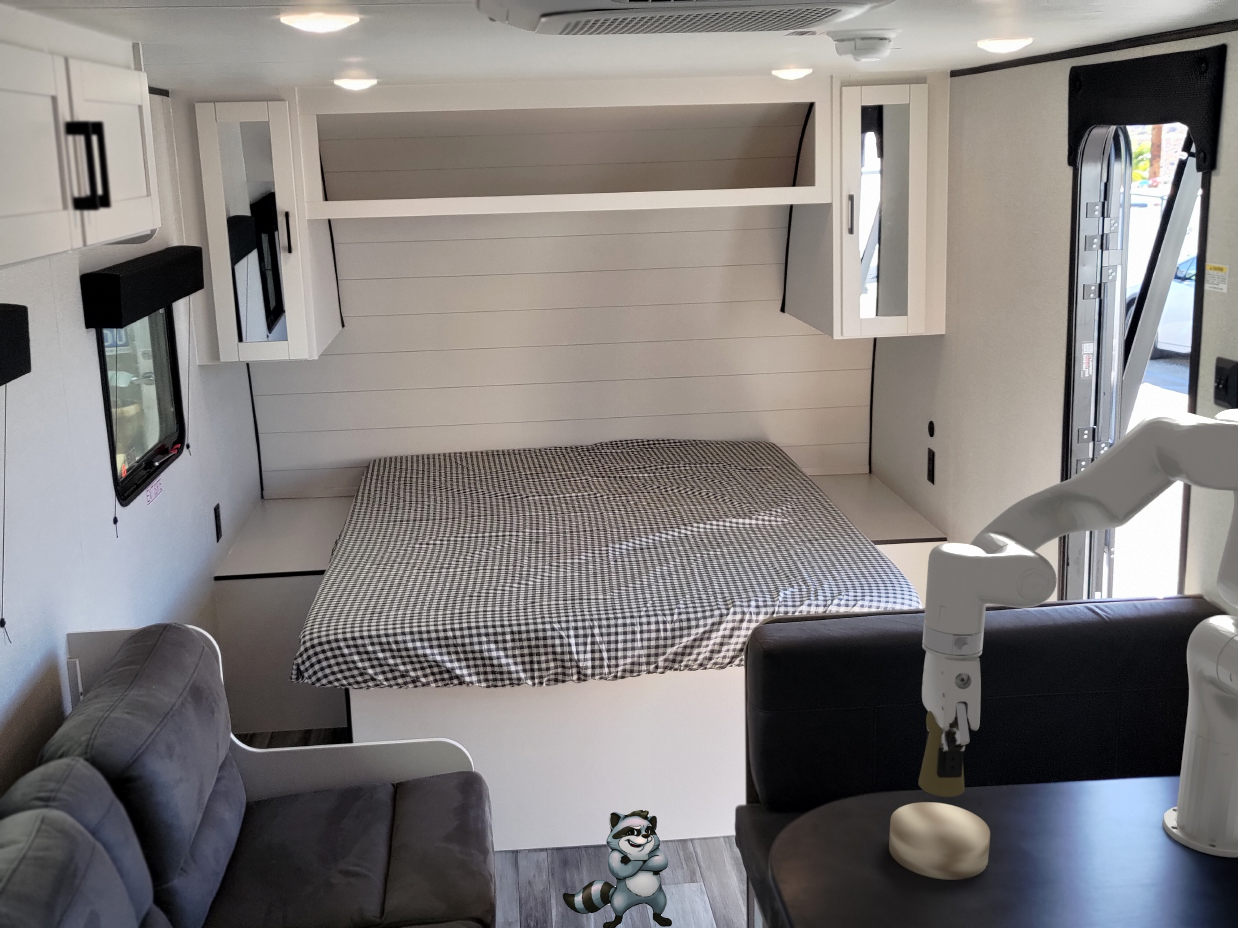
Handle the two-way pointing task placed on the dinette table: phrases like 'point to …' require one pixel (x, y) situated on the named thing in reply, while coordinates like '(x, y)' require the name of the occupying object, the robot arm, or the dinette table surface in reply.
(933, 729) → the olive pawn
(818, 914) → the dinette table surface
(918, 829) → the disc
